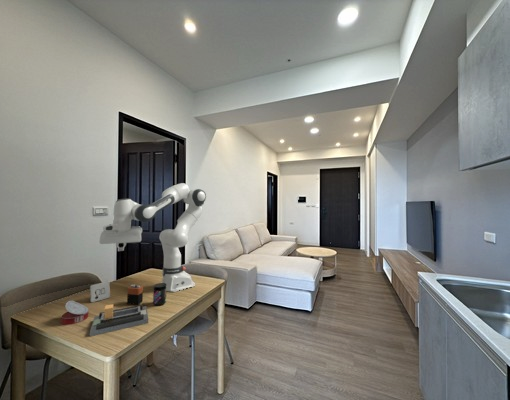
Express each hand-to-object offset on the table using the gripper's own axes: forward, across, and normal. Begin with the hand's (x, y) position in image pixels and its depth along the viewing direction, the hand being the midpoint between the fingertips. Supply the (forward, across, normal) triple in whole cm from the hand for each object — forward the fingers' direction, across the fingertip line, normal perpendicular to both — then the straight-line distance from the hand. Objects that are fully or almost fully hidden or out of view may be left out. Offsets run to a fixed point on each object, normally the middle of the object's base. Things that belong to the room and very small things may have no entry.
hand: (120, 250), depth 121 cm
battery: (+29, -8, +5) cm, 31 cm away
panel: (+29, -2, +24) cm, 38 cm away
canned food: (+30, +17, +11) cm, 36 cm away
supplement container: (+29, -20, +12) cm, 37 cm away
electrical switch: (+29, +10, -10) cm, 33 cm away
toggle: (+27, +3, +24) cm, 36 cm away
